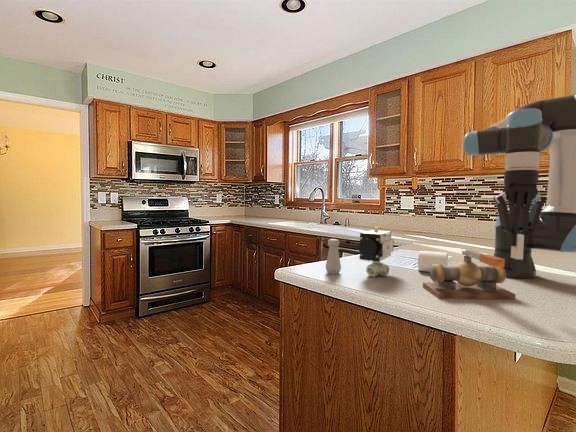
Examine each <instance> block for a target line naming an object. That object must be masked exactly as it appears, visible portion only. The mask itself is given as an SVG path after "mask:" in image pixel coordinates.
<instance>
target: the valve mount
mask: <svg viewBox="0 0 576 432" xmlns="http://www.w3.org/2000/svg"><path fill="white" fill-rule="evenodd" d="M429 276H430V280H431V281H432V282H422V288H423V289H425V290H426V291H428V293H430V294H432V295H433V296H434V297H436V298H437V299H455V300H457V299H461V300H462V299H465V300H472V299H473V300H516V293H513V292H511V291H509V290H507V289H505V288H503V287H500V286H498V285H497V284H504V283H505V281H506V279H507V277H506V271H505V269H504V267H493V266H489V265H487V266H486V265H485V266H483V265H482V266H481V265H478V264H476V263H475V262H473V261H472V257H469V256H466V255H463V261H460V262H458V263H457V264H456V265H448V266H442V265H441V264H432V266H431V267H430V272H429Z"/></svg>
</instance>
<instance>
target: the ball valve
mask: <svg viewBox="0 0 576 432" xmlns="http://www.w3.org/2000/svg"><path fill="white" fill-rule="evenodd" d="M357 249H358V253H359V260H363V261H368V262H370V261H371V262H372V263H370V264H368V265H367V266H366V268H365V269H366V270H365V272H366V274H367V275H368V276H369V277H372V278H373V277H376V276H380V277H384V276H389V273H390V267H389V266H390V265H387V264H385V262H384V263H383V262H381V261H384V260H385V259H387V258H388V257H391V255H392V253H393V252H394V239H393V238H392V231H391V230H379V227H374V229H372V230H367V231H364V232H360V233H359V243H358V246H357Z"/></svg>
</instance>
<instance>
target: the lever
mask: <svg viewBox="0 0 576 432" xmlns="http://www.w3.org/2000/svg"><path fill="white" fill-rule="evenodd" d="M461 255H463V256H469V257H471V259H475V260H478V261H479V263H483V264H485V265H487V266H489V265H491V266H493V267H504V264H505V259H502V258H499V257H496V256H493V255H494V254H489V253H488V254H485V253H483V252H479V251H477V250H473V249H461Z"/></svg>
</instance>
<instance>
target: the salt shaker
mask: <svg viewBox="0 0 576 432" xmlns="http://www.w3.org/2000/svg"><path fill="white" fill-rule="evenodd" d="M327 245H328V246H329V248H328V252H327V258H326V263H325V270H326V273H327V274H328V275H333V276H334V275H335V276H336V275H339V274H340V271H341V269H342V265H341V259H340V253H339V246H340V240H339V239H336V238H329V239H328V240H327Z"/></svg>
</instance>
